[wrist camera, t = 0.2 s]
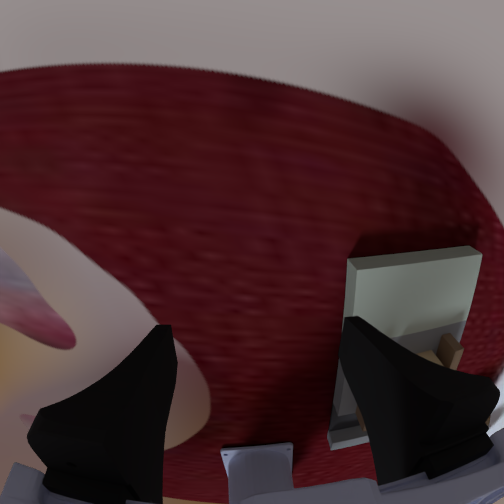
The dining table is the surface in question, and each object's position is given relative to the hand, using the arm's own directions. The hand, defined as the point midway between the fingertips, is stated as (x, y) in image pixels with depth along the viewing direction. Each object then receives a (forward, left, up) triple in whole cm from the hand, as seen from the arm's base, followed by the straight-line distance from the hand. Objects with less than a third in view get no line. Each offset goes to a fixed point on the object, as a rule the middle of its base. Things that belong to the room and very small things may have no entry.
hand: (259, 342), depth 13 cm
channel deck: (-13, -13, -10) cm, 21 cm away
